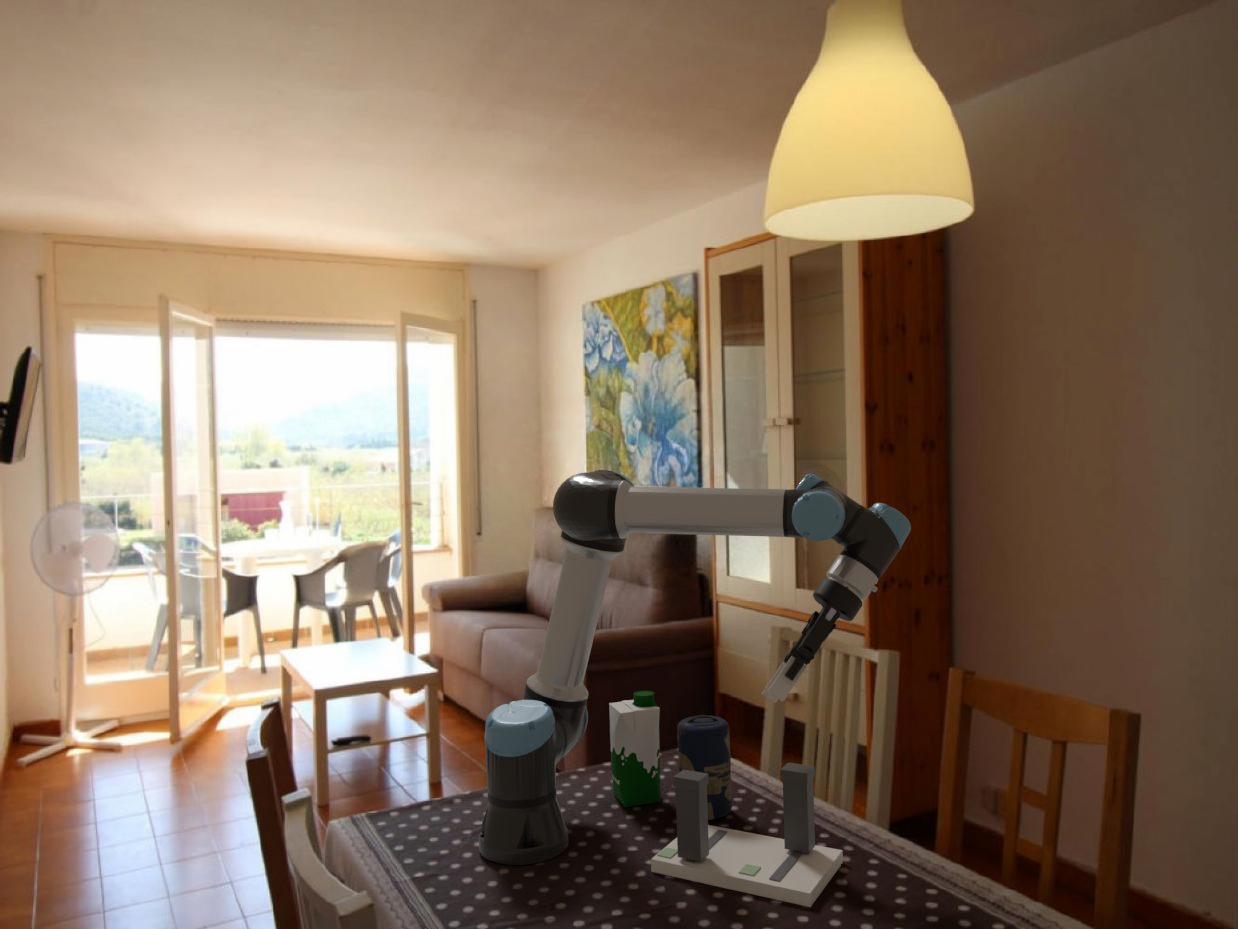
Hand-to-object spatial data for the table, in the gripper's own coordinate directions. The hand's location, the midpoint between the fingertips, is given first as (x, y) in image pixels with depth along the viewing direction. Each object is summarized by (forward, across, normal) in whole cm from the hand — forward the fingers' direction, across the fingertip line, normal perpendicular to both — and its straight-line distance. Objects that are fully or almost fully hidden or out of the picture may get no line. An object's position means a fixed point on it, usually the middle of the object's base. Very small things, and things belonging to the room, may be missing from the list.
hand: (771, 697), depth 151 cm
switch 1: (+27, +4, -4) cm, 28 cm away
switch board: (+24, +6, -12) cm, 27 cm away
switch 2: (+16, +6, -17) cm, 24 cm away
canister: (+22, +27, -3) cm, 35 cm away
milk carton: (+28, +34, +8) cm, 45 cm away
